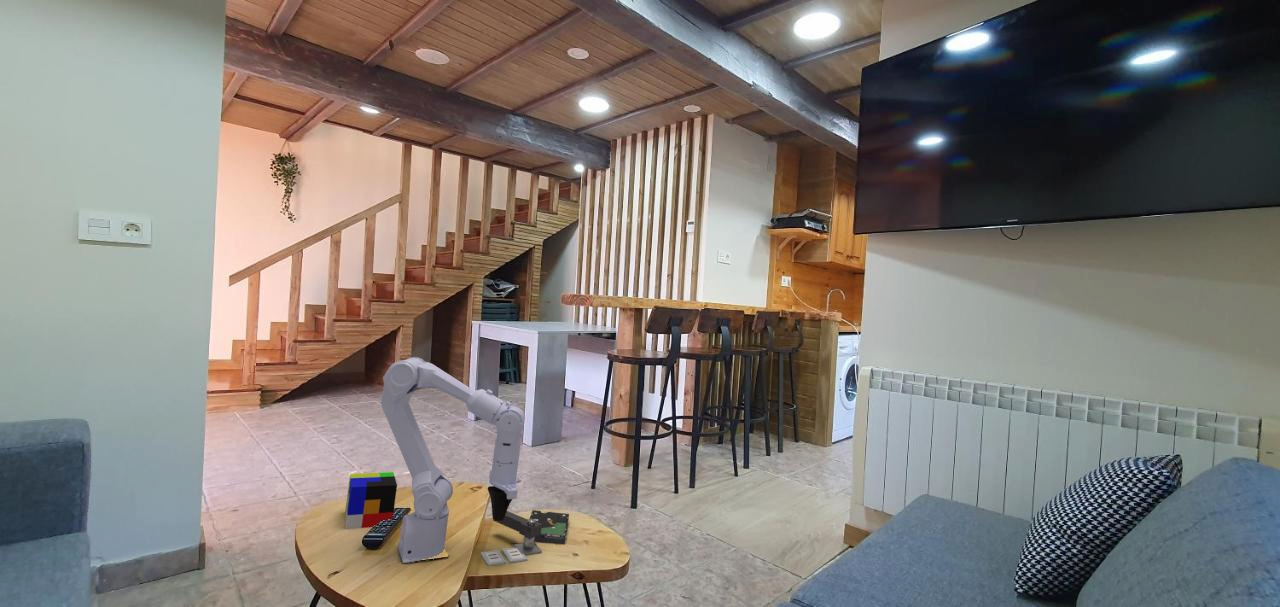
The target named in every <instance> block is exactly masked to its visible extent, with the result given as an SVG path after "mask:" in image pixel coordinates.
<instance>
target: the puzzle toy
mask: <svg viewBox="0 0 1280 607" xmlns="http://www.w3.org/2000/svg"><path fill="white" fill-rule="evenodd" d="M397 487H398V484H397V479H396V476H395V472H391V471H389V472H386V471H385V472H363V473H349V481H348V488H347V497H346V502H345V508H344V509H345V511H344V521H345V525H344V526H345V528H344V529H345V530H351V529H352V530H353V529H366V528H374V527H373V526H374V525H376V524H377V523H379V522H380V521H383V520H388V519H394V511H395V506H396V505H395V504H396V497H397V490H398V489H397Z"/></svg>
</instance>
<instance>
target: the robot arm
mask: <svg viewBox="0 0 1280 607" xmlns="http://www.w3.org/2000/svg"><path fill="white" fill-rule="evenodd" d="M382 379H383V380H382V381H383V388H382V393H381V394H382V396H381V401H380V405H381V408H382V410H383V413H384V415H385V418H386V419H387V422H388V424H389V427H390V430H391V431H392V434H393V436H394V438H395V441H396V443H397V445H398V449H399V451H400V453H401V455H402V457H403V460H404V462H405V464H406V466H407V470H408V472H409V474H410V476H411V492H412V495H413V510H414V512H412V513H409V514H405V515H403V517H402V521H401V527H400V536H399V543H398V546H397V548H398V552H399V556H400V558H401V561H402V564H410V562H411V563H415V561H418V560H422V559H428V558H430V557H431V558H432V557H434V556H437V555H439V554H440V553H442V552H443V550H444V546H445V545H446V538H447V530H448V523H449V515H450V514H449V513H450V509H449V506H448V503H447V502H448V501H449V500H450V499H451V498H452V497H453V493H454V487H453V484H452V482H451V481H450V480H449V479H448V478H447V477H446V476H445V475H444V474H443V472H442V470H441V469H440V468H439V467H438V466H437V465H436V464H435V462H434V460H433V457H432V454H431V453H430V450H429V447H428V446H427V443H426V440H425V438H424V437H423V434H422V432H421V429H420V427H419V424H418V422H417V420H416V417H415V415H414V413H413V410H412V407H411V406H410V403H409V402H410V401H411V398H412V397H413V395H414V392H415V391H416V389H417V388H436V389H437V390H440V391H442V392H443V393H445V394H448V395H450V396H452V397H453V398H455V399H458V400H459V401H461V402H462V403H464V404H465V405H466V408H467V411H468V412H469V413H471V414H473V415H474V416H476V417H478V418H480V420H481V419H482V420H483V421H485V422H486V423H488V424H490V425H493V426H495V427H496V430H497V432H496V433H497V434H496V439H495V442H494V450H493V457H492V462H491V463H492V464H491V469H490V470H489V474H488V475H489V477H488V478H489V480H488V483H489V484H490V485H489V486H488V487H487V489H486V490H487V491H488V494H489V497H490V503H491V504H490V505H491V515H492V521H493V520H494V521H503V520H504V517H505V515H506V512H507V511H508V509H509V506H510V504H511V502H512V501H513V500H516V499H517V497H518V489H517V484H520V483H521V482H522V479H521V478H520V477H519V476H518V469H519V468H518V466H519V462H520V461H519V460H520V452H521V444H522V440H521V438H522V429H523V427H524V424H525V418H526V417H525V413H524V410H522V409H521V408H520V407H519V406H518V404H517V405H516V404H511V402H510V401H509V400H507V401H504V400H502V399H500V398H499V397H497V396H496V395H494V394H493V390H491V389H489V388H488V389H487V390H485V389H483V388H480V389H477V390H474V389H472V388H471V387H469V386H467V385H466V384H464V383H463V382H461V381H460V380H458V379H457V378H455V377H454V376H452V375H450V374H449V373H447V372H446V371H444V370H443V369H441V368H440V367H437V366H436V365H435V364H433V363H431V362H429V361H425V360H424V359H422V358H421V357H417V356H413V357H412V356H411V357H409V358H407V359H404V360H397V361H394V363H392V364H391V365H390V366H389V368H387V371H386V372H385V374H384V375H383V377H382ZM494 521H493V522H494ZM445 547H446V546H445ZM418 562H419V561H418Z"/></svg>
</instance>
